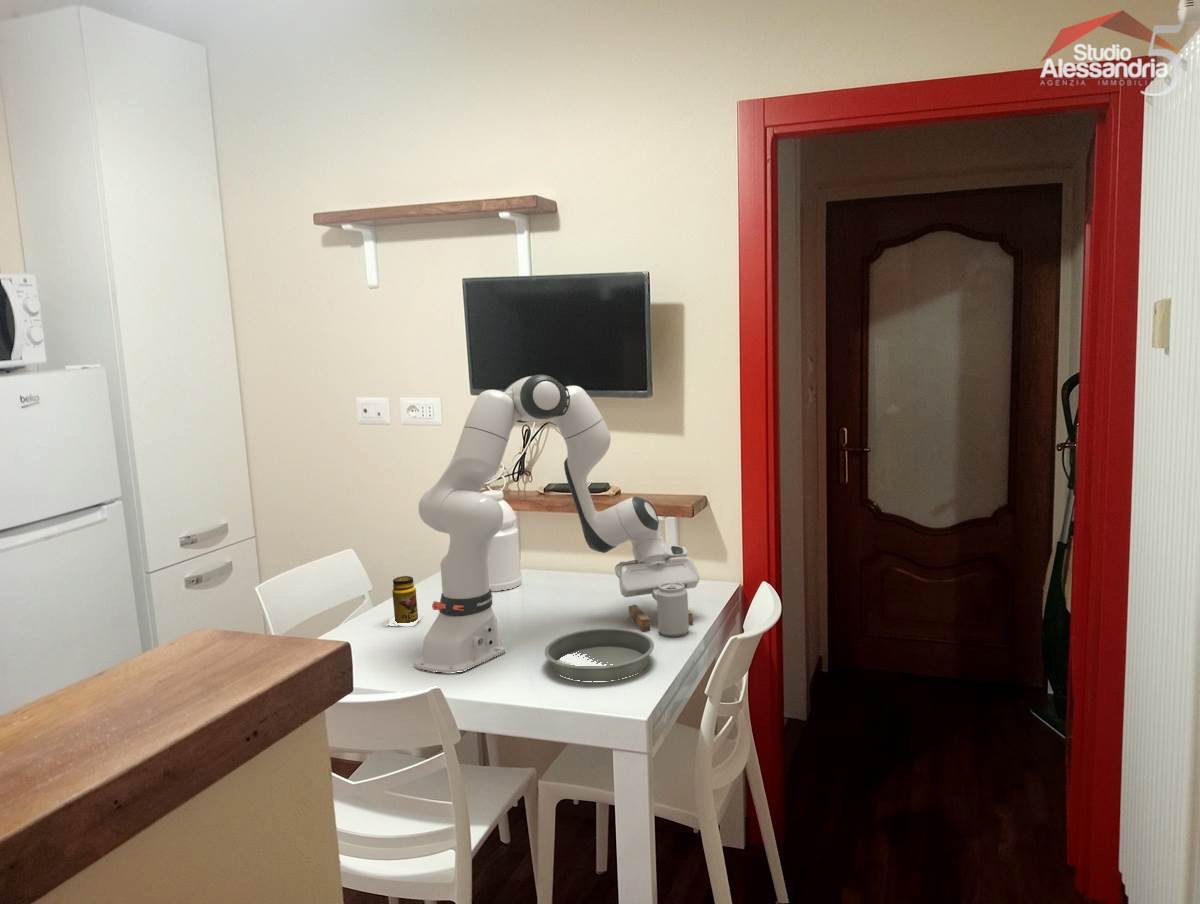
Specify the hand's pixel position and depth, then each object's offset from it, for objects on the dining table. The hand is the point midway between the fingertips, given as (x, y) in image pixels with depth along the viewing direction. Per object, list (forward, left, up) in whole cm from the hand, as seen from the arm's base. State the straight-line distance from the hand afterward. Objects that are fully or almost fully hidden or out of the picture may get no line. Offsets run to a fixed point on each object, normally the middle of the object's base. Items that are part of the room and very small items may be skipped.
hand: (666, 606), depth 233 cm
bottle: (+20, +61, -6) cm, 65 cm away
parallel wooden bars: (+4, +3, -5) cm, 8 cm away
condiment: (-16, +68, -6) cm, 71 cm away
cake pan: (-27, +5, -6) cm, 28 cm away
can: (-3, -3, -6) cm, 7 cm away
